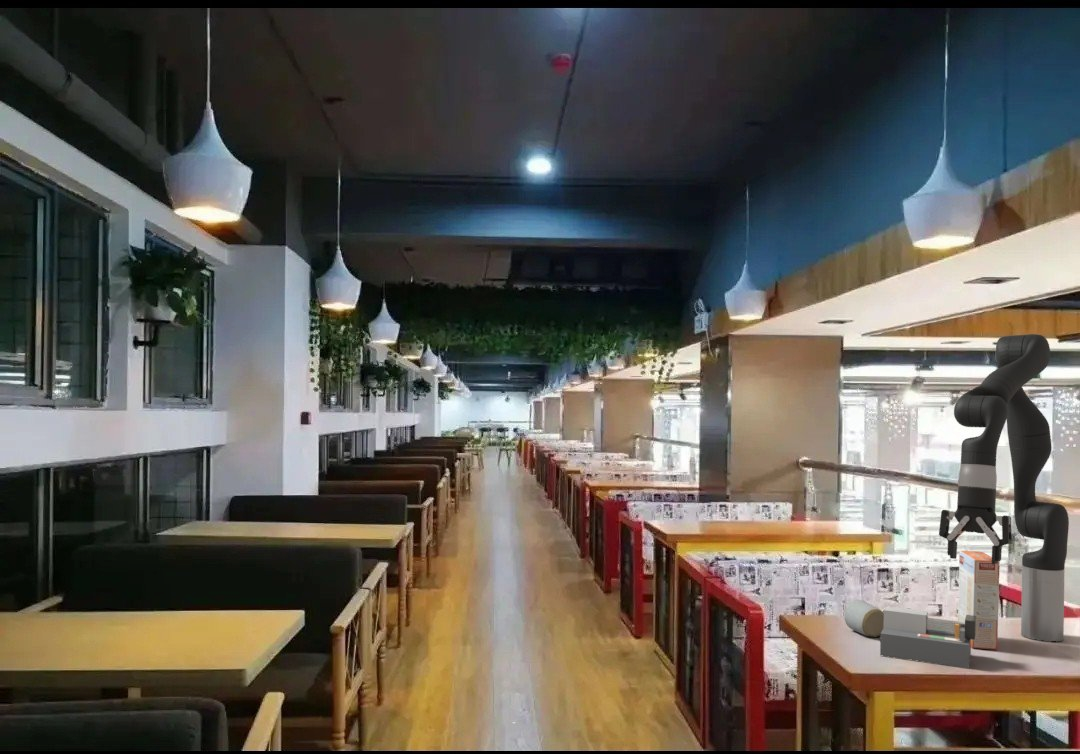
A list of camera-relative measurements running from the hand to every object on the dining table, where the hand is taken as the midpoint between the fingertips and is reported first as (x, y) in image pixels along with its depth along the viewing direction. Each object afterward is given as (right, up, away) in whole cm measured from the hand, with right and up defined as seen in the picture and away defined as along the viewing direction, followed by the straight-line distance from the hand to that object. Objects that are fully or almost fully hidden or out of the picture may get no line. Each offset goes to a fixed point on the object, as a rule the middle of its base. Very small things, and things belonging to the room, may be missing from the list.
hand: (973, 561), depth 199 cm
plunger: (-3, -18, +7) cm, 19 cm away
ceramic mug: (-13, -24, +27) cm, 38 cm away
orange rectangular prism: (-2, -18, +3) cm, 18 cm away
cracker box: (+11, -24, +21) cm, 34 cm away
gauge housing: (-7, -23, +9) cm, 26 cm away
